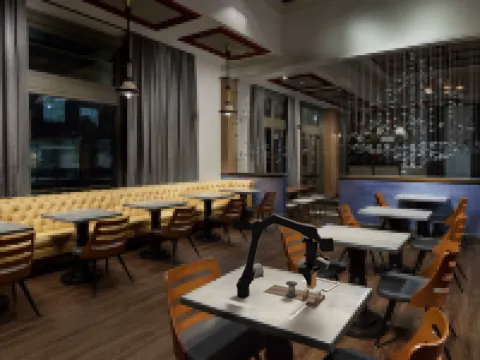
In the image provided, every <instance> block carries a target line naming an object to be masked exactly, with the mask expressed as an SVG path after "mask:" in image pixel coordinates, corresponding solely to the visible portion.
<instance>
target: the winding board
mask: <svg viewBox="0 0 480 360" xmlns="http://www.w3.org/2000/svg"><path fill="white" fill-rule="evenodd" d="M285 285H286V286H282V285H277V284H273V285H271V286H270V287H268V288H267V289H266V290H264V291H263V293H266V294H271V295H274V296H280V297H284V298H288V299H293V300H296V301H297V300H298V301H301V302H306V303H305V305H306V306H310V307H315V308H317V306H319V304H320V303H321V302H323V300H325V299H326V295H325V294H322V290H317V291H316V292H312V291H310V289H309V288H307V287H306V288H304V289H303V290H301V289H297V288H296V286H298V282H297V281H295V280H287V281H286V282H285Z"/></svg>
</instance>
